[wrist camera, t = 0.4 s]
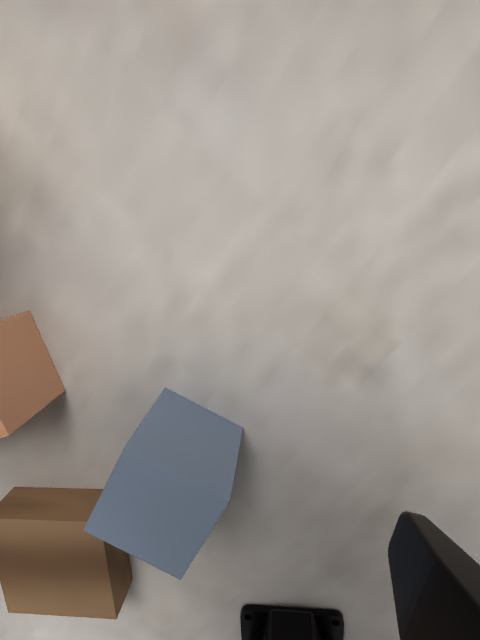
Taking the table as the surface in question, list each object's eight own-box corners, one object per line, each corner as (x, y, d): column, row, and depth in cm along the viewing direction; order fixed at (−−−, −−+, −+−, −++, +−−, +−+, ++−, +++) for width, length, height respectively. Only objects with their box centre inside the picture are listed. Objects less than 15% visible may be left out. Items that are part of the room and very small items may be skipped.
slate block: (243, 427, 22) (229, 501, 16) (205, 491, 24) (180, 579, 18) (165, 386, 22) (124, 447, 16) (131, 453, 23) (82, 530, 18)
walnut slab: (134, 574, 26) (116, 619, 23) (37, 570, 27) (8, 612, 24) (121, 486, 24) (100, 521, 22) (17, 483, 25) (-17, 518, 22)
